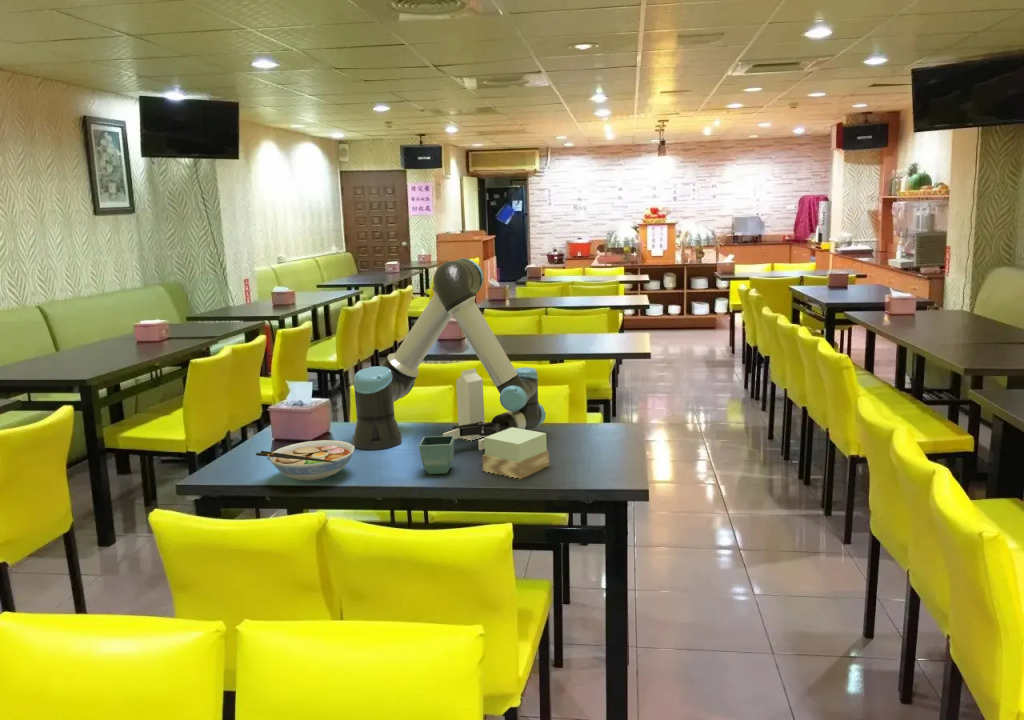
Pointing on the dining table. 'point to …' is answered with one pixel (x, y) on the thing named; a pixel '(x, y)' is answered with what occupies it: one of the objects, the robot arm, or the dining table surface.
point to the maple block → (515, 465)
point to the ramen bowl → (311, 459)
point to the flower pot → (437, 453)
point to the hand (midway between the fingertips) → (461, 441)
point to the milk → (470, 400)
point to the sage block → (515, 444)
